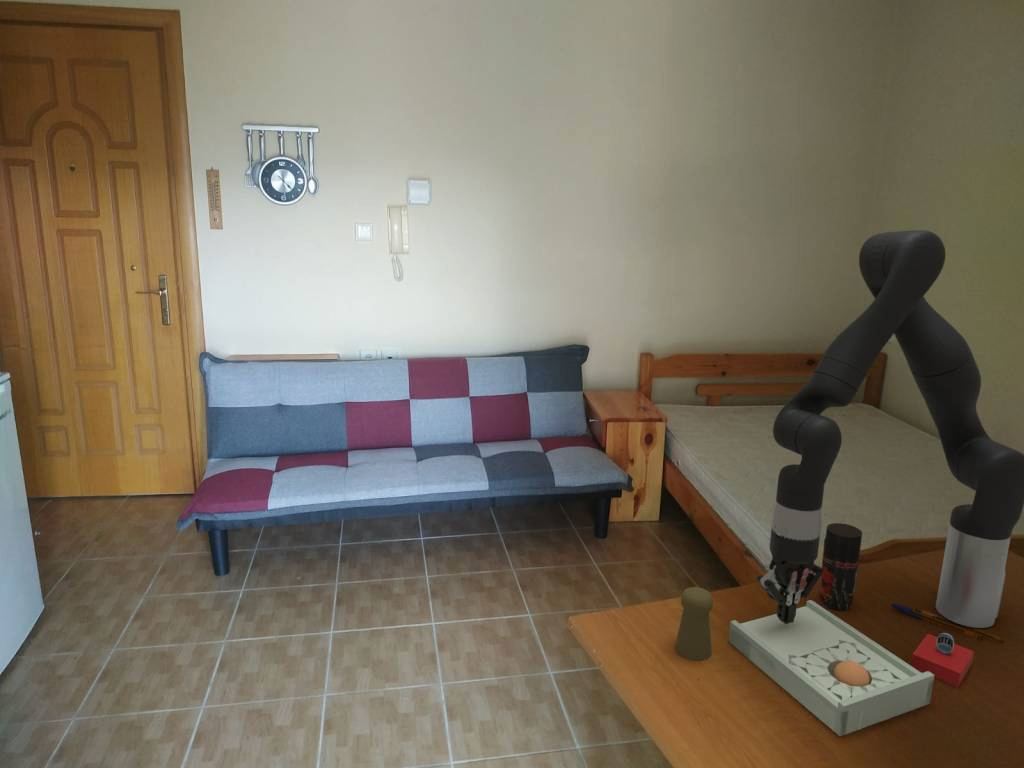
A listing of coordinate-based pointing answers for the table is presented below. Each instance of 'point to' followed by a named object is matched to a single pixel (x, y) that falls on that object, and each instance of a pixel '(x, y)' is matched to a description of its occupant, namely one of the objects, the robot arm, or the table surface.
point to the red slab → (942, 658)
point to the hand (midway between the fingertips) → (785, 620)
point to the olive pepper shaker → (695, 625)
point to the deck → (831, 668)
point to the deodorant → (839, 566)
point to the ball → (851, 674)
